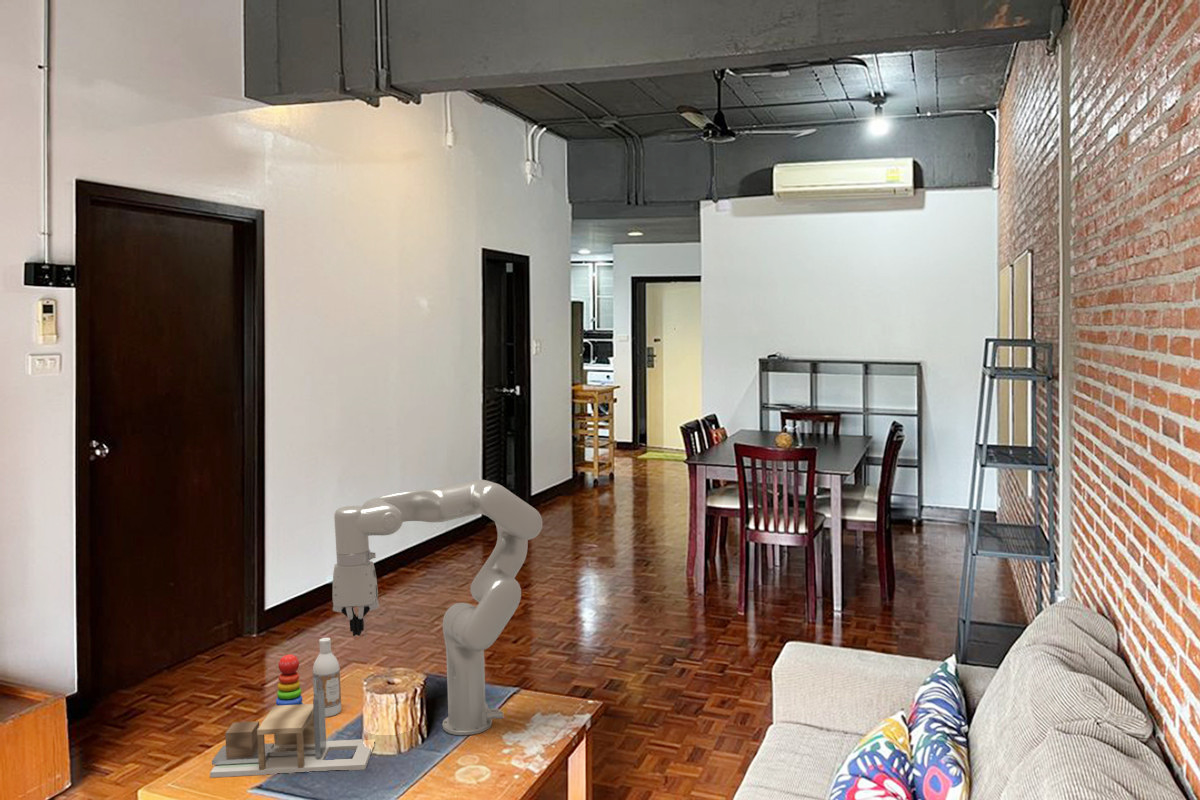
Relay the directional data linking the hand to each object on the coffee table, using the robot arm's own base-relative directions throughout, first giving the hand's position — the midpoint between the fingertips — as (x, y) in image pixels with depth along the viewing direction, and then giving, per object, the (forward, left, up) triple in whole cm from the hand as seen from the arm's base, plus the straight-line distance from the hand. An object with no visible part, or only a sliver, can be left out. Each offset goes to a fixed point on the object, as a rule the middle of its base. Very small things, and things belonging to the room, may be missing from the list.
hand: (357, 633), depth 224 cm
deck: (+15, +2, -29) cm, 33 cm away
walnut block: (+27, +2, -27) cm, 38 cm away
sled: (+21, +2, -28) cm, 35 cm away
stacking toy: (+22, -18, -30) cm, 41 cm away
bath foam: (+14, -26, -29) cm, 41 cm away
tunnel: (+17, +2, -28) cm, 33 cm away
